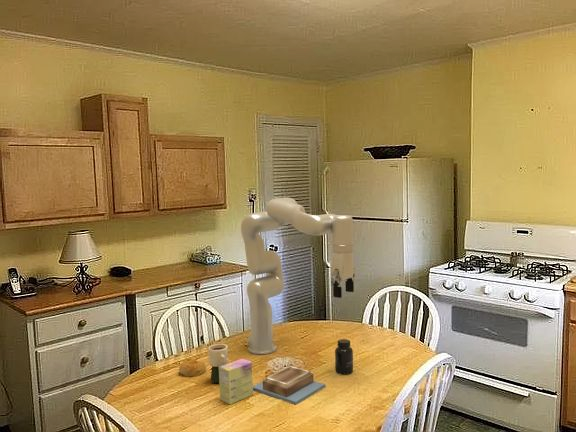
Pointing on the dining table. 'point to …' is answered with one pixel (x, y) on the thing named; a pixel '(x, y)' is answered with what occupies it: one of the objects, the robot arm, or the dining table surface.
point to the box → (235, 381)
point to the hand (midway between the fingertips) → (343, 294)
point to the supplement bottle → (344, 357)
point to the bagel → (192, 368)
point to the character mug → (217, 359)
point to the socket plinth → (288, 381)
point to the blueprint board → (295, 397)
